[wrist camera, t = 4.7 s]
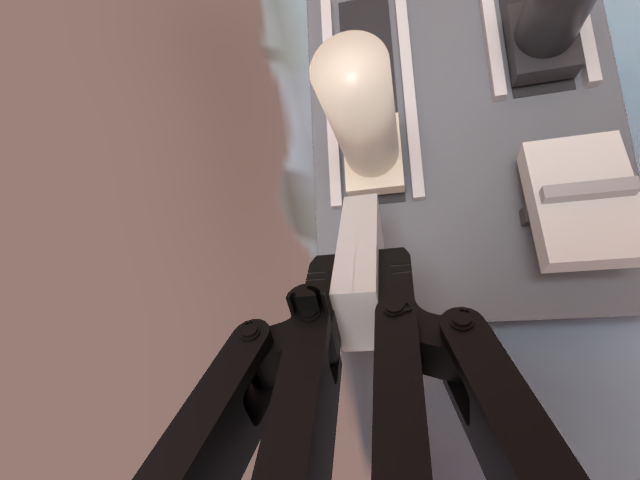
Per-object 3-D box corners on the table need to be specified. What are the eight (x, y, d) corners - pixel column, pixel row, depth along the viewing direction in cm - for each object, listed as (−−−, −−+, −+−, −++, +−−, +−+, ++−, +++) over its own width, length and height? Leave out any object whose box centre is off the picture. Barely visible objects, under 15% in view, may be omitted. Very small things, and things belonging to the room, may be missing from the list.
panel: (311, -67, 29) (292, -136, 25) (553, -130, 26) (581, -223, 22) (330, 327, 24) (310, 330, 20) (638, 314, 21) (699, 314, 16)
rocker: (516, 158, 20) (525, 134, 18) (606, 148, 19) (624, 121, 18) (540, 273, 18) (554, 258, 16) (644, 267, 17) (670, 250, 15)
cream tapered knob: (345, 130, 23) (304, 24, 15) (399, 122, 22) (388, 6, 14) (349, 198, 22) (308, 127, 14) (405, 192, 22) (397, 113, 13)
